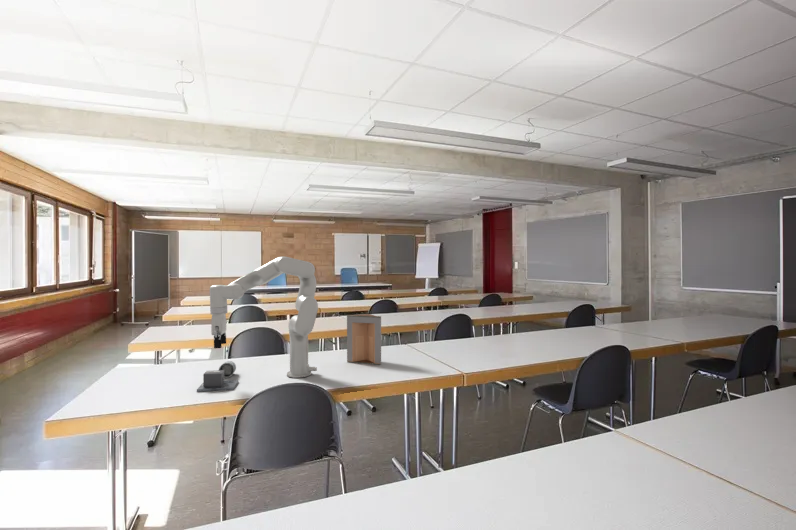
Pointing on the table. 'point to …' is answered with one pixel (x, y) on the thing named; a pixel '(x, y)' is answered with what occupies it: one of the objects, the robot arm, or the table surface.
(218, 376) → the dark grey block
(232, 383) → the plate
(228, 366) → the ceramic mug
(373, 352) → the cabinet
